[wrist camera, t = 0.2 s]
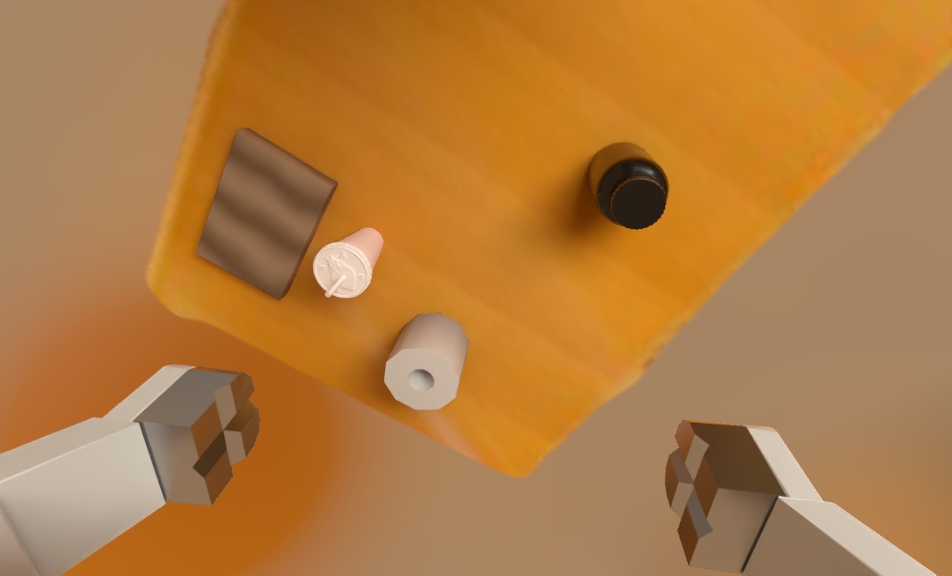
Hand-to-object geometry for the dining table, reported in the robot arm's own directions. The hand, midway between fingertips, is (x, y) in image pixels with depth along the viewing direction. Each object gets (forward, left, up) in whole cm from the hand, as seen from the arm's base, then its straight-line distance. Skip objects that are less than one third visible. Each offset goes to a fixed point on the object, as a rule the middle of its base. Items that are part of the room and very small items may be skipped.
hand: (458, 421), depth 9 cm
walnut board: (+14, -31, -48) cm, 59 cm away
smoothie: (+16, -18, -48) cm, 54 cm away
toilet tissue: (+31, -10, -48) cm, 58 cm away
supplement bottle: (+5, +11, -48) cm, 50 cm away
